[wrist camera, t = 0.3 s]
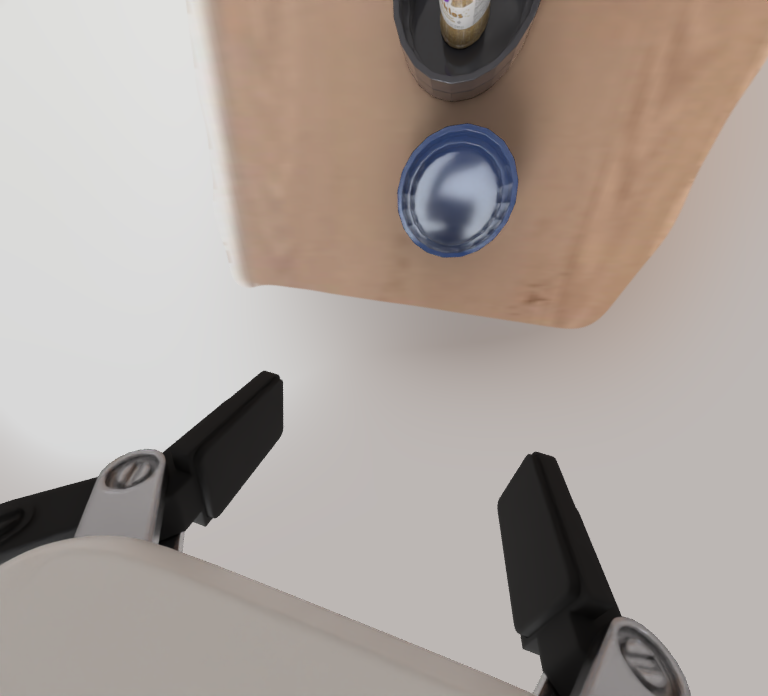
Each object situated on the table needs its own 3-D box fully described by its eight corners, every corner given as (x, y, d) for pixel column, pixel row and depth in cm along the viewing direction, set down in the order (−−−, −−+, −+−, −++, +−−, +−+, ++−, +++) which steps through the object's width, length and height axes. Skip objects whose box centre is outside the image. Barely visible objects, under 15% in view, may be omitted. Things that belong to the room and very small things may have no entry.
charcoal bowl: (488, -130, 22) (497, -215, 18) (559, 19, 25) (582, -22, 20) (379, 21, 27) (364, -15, 23) (447, 131, 30) (445, 118, 26)
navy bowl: (471, 107, 29) (474, 89, 24) (529, 206, 31) (541, 205, 27) (385, 192, 34) (375, 189, 30) (441, 270, 37) (439, 278, 32)
